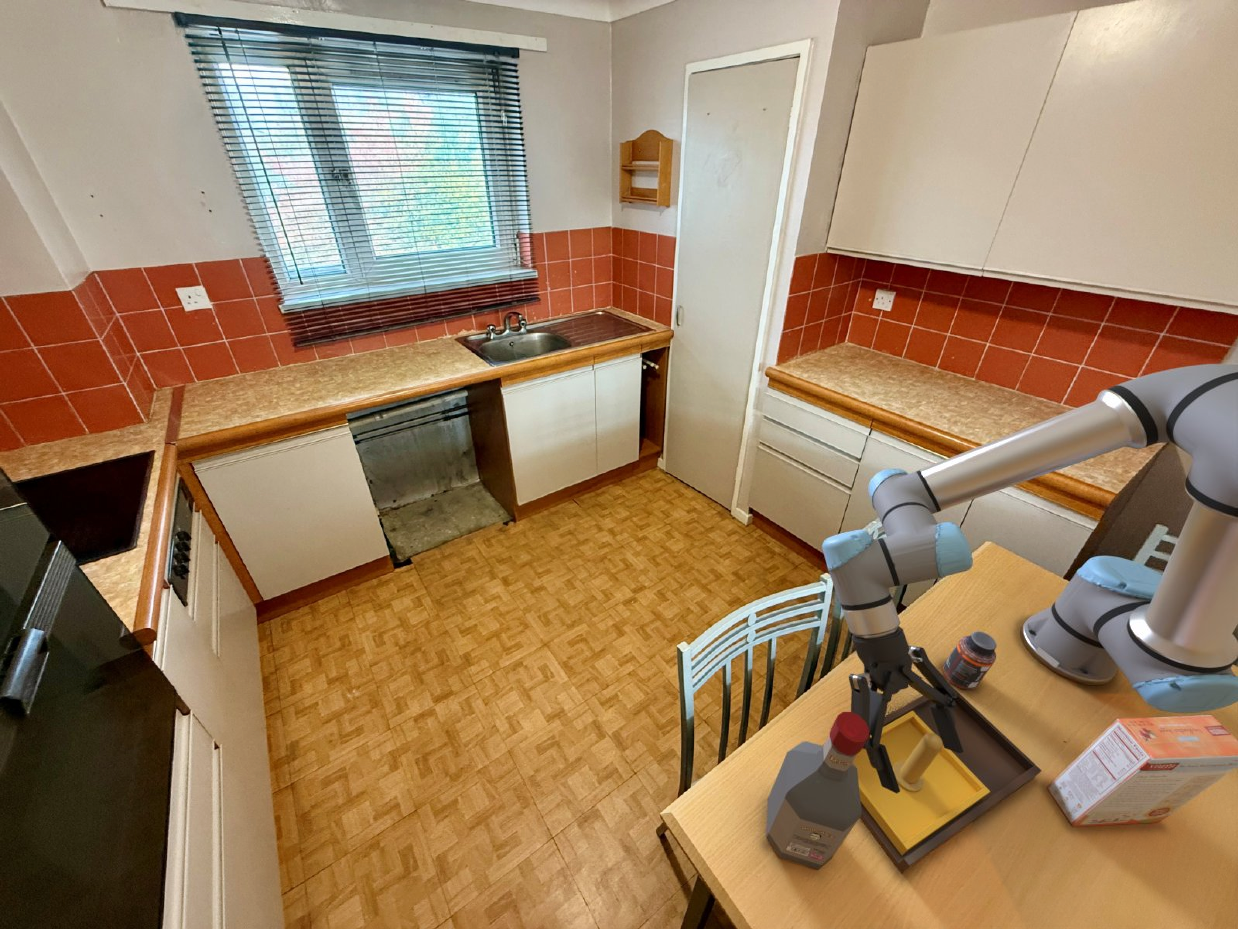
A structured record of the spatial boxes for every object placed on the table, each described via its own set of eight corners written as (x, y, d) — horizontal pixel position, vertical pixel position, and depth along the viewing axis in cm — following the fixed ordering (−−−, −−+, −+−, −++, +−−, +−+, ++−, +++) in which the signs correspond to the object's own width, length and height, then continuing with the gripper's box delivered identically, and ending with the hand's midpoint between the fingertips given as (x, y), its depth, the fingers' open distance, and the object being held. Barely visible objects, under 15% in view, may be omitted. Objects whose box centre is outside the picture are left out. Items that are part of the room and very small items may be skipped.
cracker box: (1125, 782, 82) (1214, 712, 70) (1159, 825, 77) (1260, 758, 65) (1042, 784, 82) (1116, 715, 70) (1070, 828, 77) (1156, 761, 65)
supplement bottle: (980, 695, 94) (1007, 659, 88) (944, 685, 96) (969, 649, 89) (973, 668, 99) (998, 631, 92) (939, 659, 100) (962, 622, 94)
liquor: (830, 877, 71) (901, 779, 54) (764, 855, 73) (812, 754, 56) (826, 807, 78) (888, 700, 61) (766, 789, 80) (810, 681, 63)
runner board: (940, 691, 95) (947, 681, 93) (1032, 779, 82) (1042, 770, 80) (817, 760, 84) (822, 751, 82) (901, 874, 72) (909, 866, 70)
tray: (908, 717, 89) (935, 674, 81) (984, 798, 78) (1023, 757, 71) (830, 762, 82) (852, 719, 75) (901, 856, 72) (936, 818, 65)
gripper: (911, 603, 87) (956, 728, 84) (797, 654, 78) (843, 796, 75) (951, 605, 80) (1001, 742, 77) (831, 662, 71) (883, 818, 69)
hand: (923, 769), depth 76 cm, fingers open, 13 cm apart
